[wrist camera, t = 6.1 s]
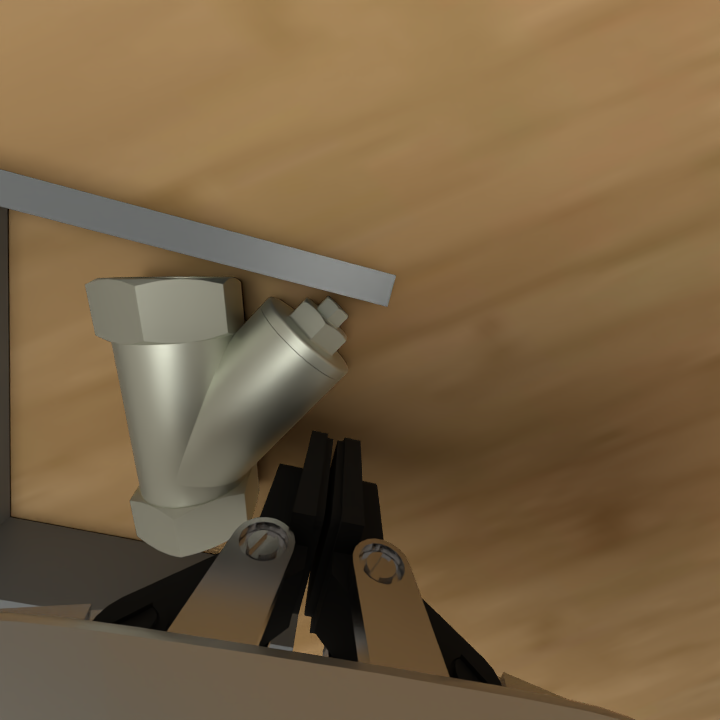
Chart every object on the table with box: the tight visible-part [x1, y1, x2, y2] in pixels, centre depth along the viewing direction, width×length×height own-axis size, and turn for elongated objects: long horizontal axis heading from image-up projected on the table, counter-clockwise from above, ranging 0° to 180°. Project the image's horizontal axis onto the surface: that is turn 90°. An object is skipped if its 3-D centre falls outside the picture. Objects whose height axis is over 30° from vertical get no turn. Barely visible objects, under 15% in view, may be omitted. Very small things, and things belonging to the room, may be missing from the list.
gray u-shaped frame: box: [0, 169, 396, 651], centre depth 11 cm, size 13×14×3 cm
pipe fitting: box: [85, 277, 348, 557], centre depth 11 cm, size 8×4×7 cm
